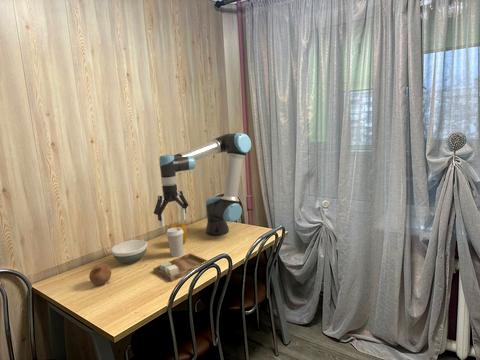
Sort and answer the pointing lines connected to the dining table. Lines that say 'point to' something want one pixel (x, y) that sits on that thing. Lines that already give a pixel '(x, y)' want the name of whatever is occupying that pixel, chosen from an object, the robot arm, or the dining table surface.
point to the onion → (100, 274)
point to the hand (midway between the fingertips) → (173, 223)
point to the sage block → (165, 266)
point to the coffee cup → (175, 241)
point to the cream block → (172, 270)
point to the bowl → (129, 251)
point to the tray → (181, 266)
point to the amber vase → (182, 229)
